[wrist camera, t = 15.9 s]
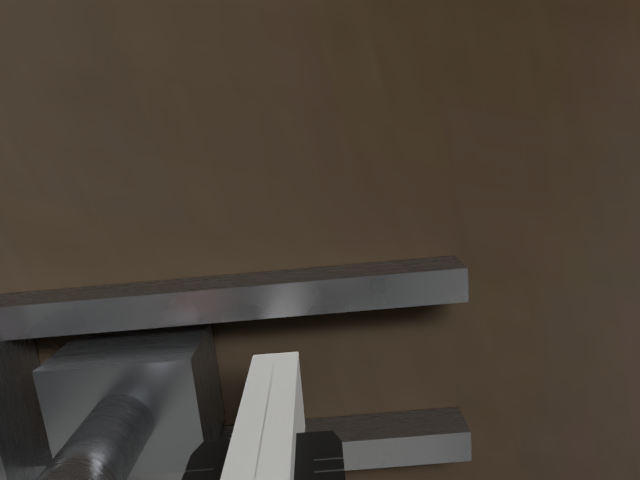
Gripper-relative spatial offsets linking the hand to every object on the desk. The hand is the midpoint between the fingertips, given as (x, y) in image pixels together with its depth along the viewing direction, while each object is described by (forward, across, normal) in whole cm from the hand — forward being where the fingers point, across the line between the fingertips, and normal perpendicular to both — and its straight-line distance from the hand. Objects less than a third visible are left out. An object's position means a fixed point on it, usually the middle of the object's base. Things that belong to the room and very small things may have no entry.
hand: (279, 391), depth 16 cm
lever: (+2, +5, 0) cm, 6 cm away
